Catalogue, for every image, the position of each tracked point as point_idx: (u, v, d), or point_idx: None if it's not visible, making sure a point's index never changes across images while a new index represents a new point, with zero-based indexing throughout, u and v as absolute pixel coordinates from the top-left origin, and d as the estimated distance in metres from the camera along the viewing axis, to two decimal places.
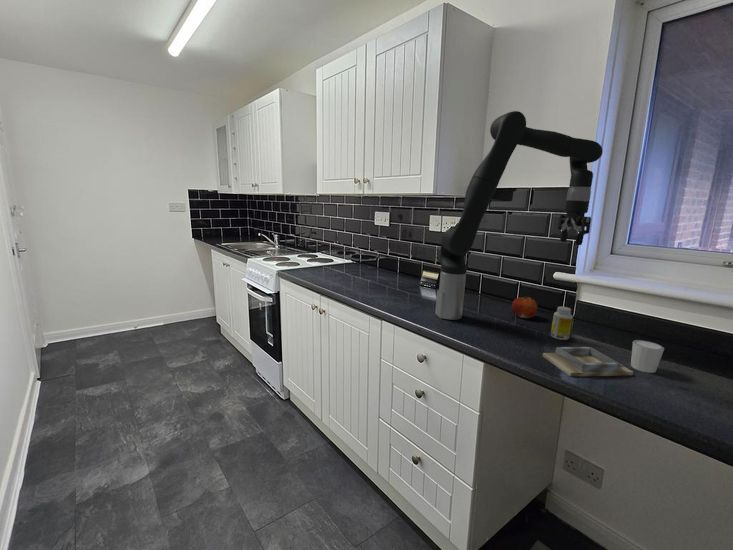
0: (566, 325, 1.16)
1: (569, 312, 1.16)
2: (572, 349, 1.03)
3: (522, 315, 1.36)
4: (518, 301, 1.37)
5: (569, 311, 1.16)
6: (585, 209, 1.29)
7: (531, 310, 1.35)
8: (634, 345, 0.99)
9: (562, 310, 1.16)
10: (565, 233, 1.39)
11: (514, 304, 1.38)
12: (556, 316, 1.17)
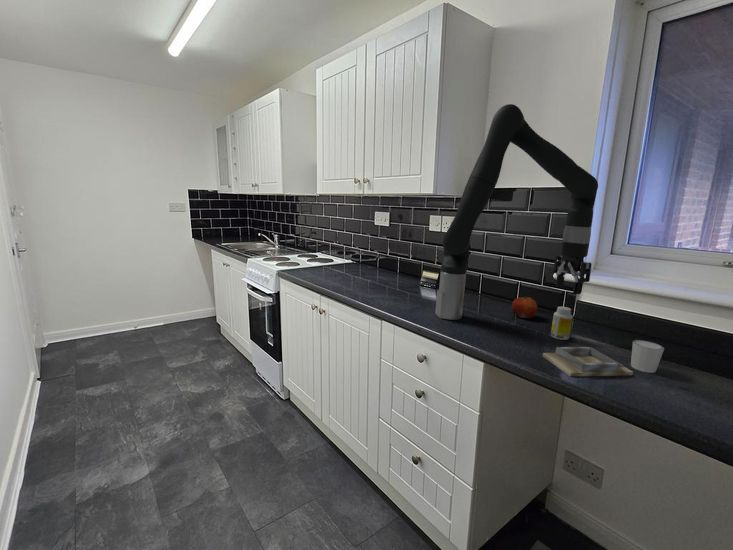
0: (566, 325, 1.16)
1: (569, 312, 1.16)
2: (572, 349, 1.03)
3: (522, 315, 1.36)
4: (518, 301, 1.37)
5: (569, 311, 1.16)
6: (584, 253, 1.10)
7: (531, 310, 1.35)
8: (634, 345, 0.99)
9: (562, 310, 1.16)
10: (561, 277, 1.19)
11: (514, 304, 1.38)
12: (556, 316, 1.17)
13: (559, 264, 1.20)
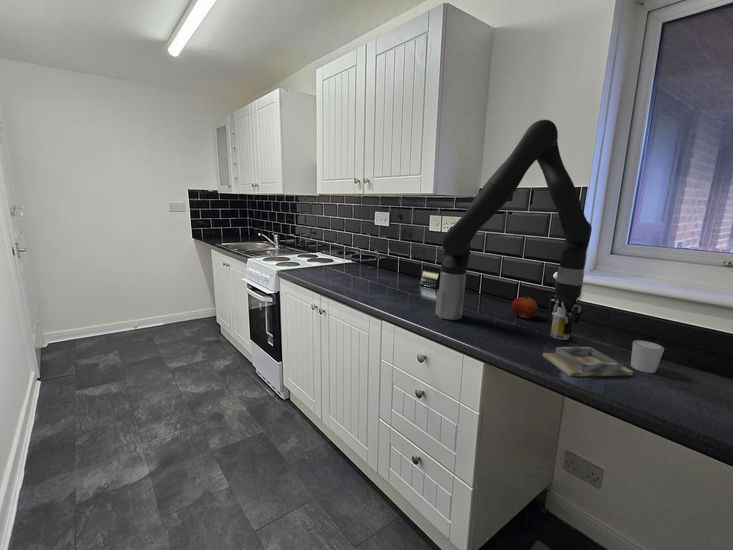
0: None
1: (569, 312, 1.16)
2: (572, 349, 1.03)
3: (522, 315, 1.36)
4: (518, 301, 1.37)
5: None
6: (577, 294, 1.13)
7: (531, 310, 1.35)
8: (634, 345, 0.99)
9: (562, 310, 1.16)
10: None
11: (514, 304, 1.38)
12: (556, 316, 1.17)
13: (554, 304, 1.23)
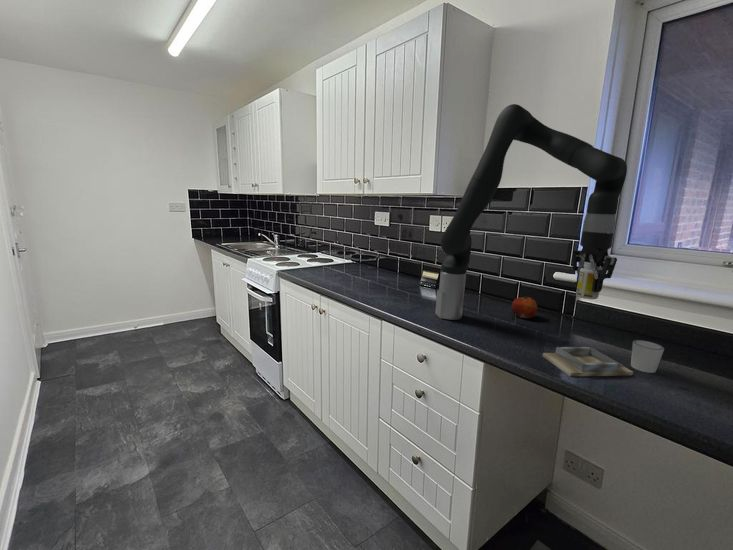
0: None
1: None
2: (572, 349, 1.03)
3: (522, 315, 1.36)
4: (518, 301, 1.37)
5: None
6: (609, 244, 0.97)
7: (531, 310, 1.35)
8: (634, 345, 0.99)
9: (590, 264, 1.00)
10: None
11: (514, 304, 1.38)
12: (583, 272, 1.01)
13: (578, 260, 1.07)
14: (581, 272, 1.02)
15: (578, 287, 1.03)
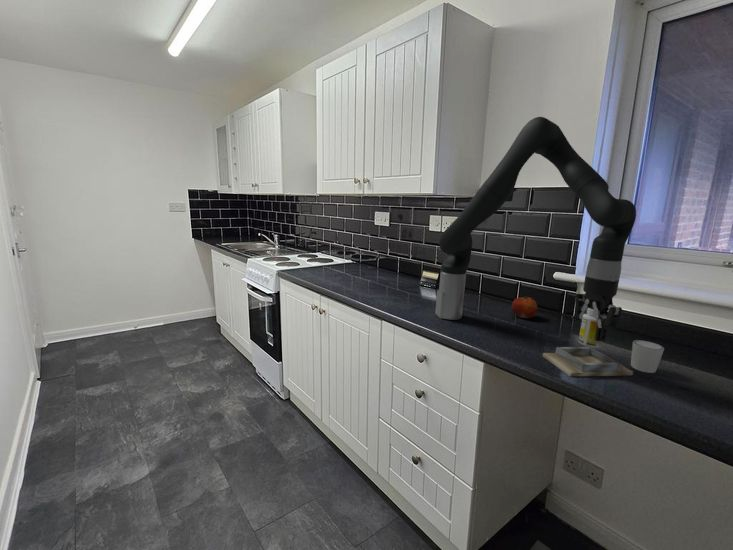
0: None
1: (602, 314, 0.95)
2: (572, 349, 1.03)
3: (522, 315, 1.36)
4: (518, 301, 1.37)
5: None
6: (613, 292, 0.92)
7: (531, 310, 1.35)
8: (634, 345, 0.99)
9: None
10: None
11: (514, 304, 1.38)
12: (586, 319, 0.96)
13: (582, 304, 1.01)
14: (584, 319, 0.97)
15: (580, 334, 0.98)
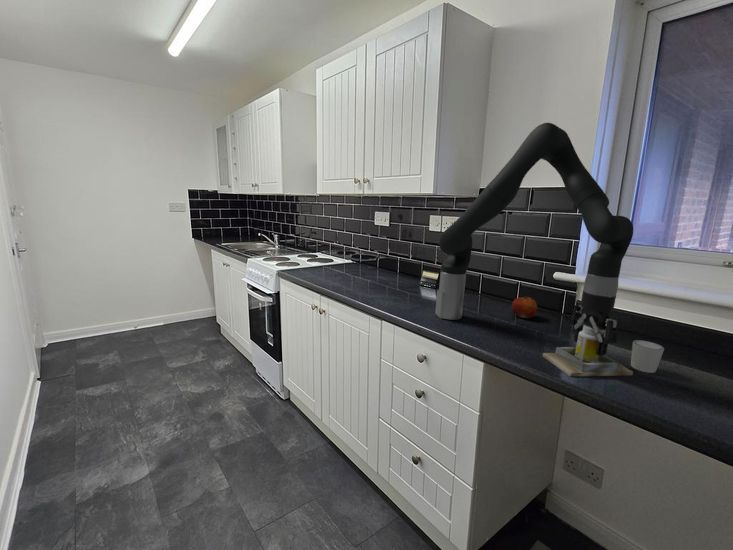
0: (595, 348, 0.96)
1: None
2: (572, 349, 1.03)
3: (522, 315, 1.36)
4: (518, 301, 1.37)
5: None
6: (610, 307, 0.92)
7: (531, 310, 1.35)
8: (634, 345, 0.99)
9: (589, 329, 0.96)
10: None
11: (514, 304, 1.38)
12: (582, 336, 0.97)
13: (578, 315, 1.02)
14: (580, 336, 0.98)
15: (576, 351, 0.99)
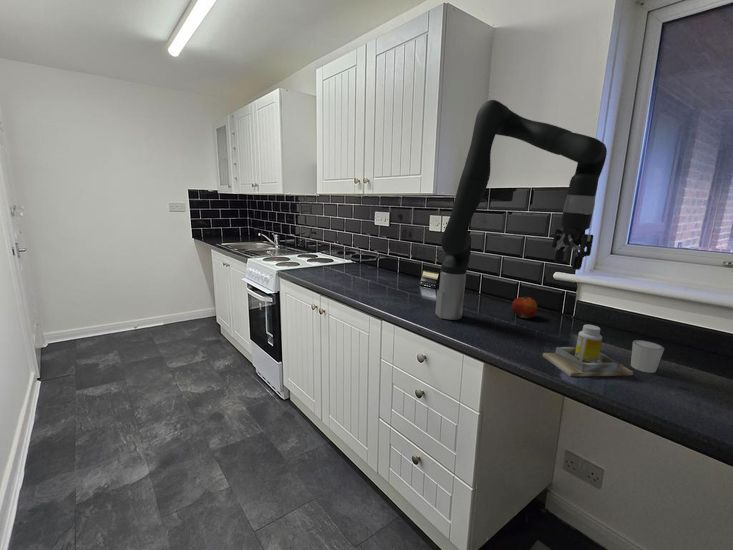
0: (595, 348, 0.96)
1: (598, 332, 0.96)
2: (572, 349, 1.03)
3: (522, 315, 1.36)
4: (518, 301, 1.37)
5: (598, 331, 0.96)
6: (586, 224, 1.01)
7: (531, 310, 1.35)
8: (634, 345, 0.99)
9: (589, 329, 0.96)
10: (561, 252, 1.11)
11: (514, 304, 1.38)
12: (582, 336, 0.97)
13: (559, 238, 1.11)
14: (580, 336, 0.98)
15: (576, 351, 0.99)
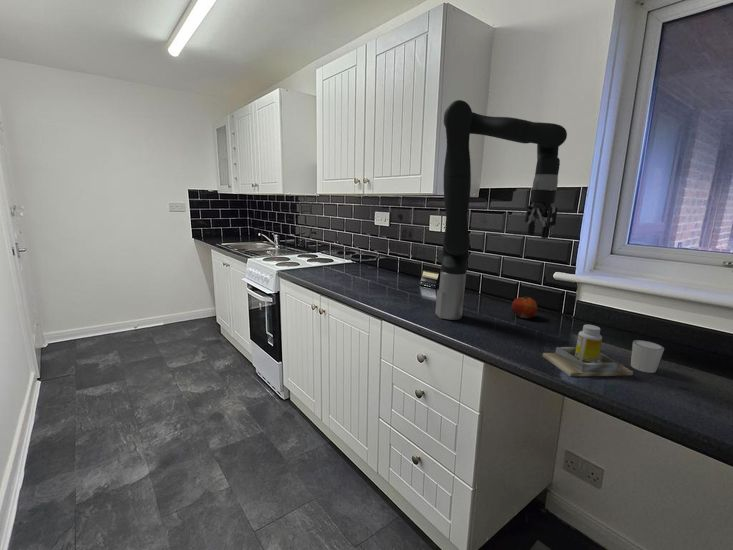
0: (595, 348, 0.96)
1: (598, 332, 0.96)
2: (572, 349, 1.03)
3: (522, 315, 1.36)
4: (518, 301, 1.37)
5: (598, 331, 0.96)
6: (551, 199, 1.19)
7: (531, 310, 1.35)
8: (634, 345, 0.99)
9: (589, 329, 0.96)
10: (532, 226, 1.28)
11: (514, 304, 1.38)
12: (582, 336, 0.97)
13: (530, 214, 1.29)
14: (580, 336, 0.98)
15: (576, 351, 0.99)
